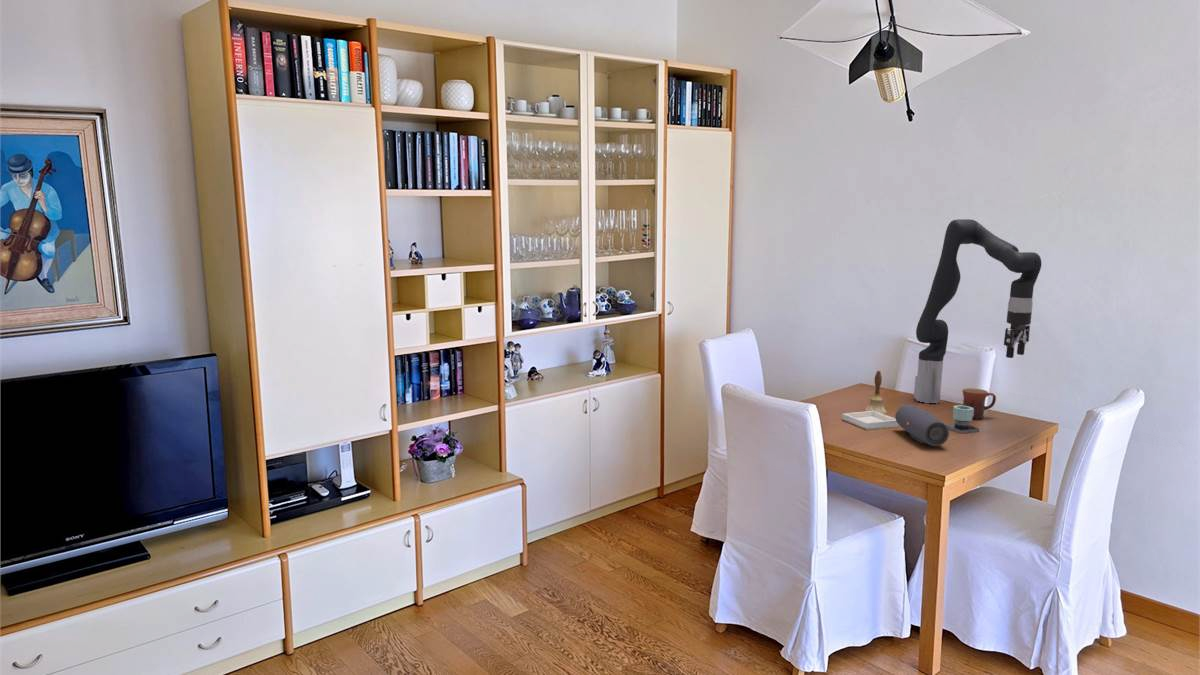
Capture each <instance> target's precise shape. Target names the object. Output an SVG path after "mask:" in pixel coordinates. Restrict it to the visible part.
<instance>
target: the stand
mask: <svg viewBox="0 0 1200 675" xmlns="http://www.w3.org/2000/svg"><path fill="white" fill-rule="evenodd" d="M960 409H966V408H960ZM970 423H971V421H960V420H956V419H954V423H951V424H950V423H947V424H945V425H946V426H947V428H948V430H949V431H953V432H956V433H958V434H968V433H970V434H971V433H978V432H980V428H978V427H975V426H972V425H970Z"/></svg>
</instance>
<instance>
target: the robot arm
mask: <svg viewBox="0 0 1200 675" xmlns="http://www.w3.org/2000/svg"><path fill="white" fill-rule="evenodd" d="M969 244H973V245H977V246H980V247H982V248H983V249H984V251H985V253H986V254H987V255H988V256H989V257H991V258H992V259H994V260H996V261H998V262H1000V263H1001V264H1002V265H1003V266H1005V268H1006V269H1007V270H1009V271H1010V272H1012V273H1015V274H1021V275H1020V277H1019V278H1017V279H1014V280H1013V281H1012V282H1011V284H1010V291H1009V300H1008V304H1007V315H1006V323H1007V324H1010V327H1009V328H1008V327H1007V328H1005V331H1004V339H1003V346H1006V352H1005V353H1006V354H1005V357H1006V358H1009V359H1013V358H1014V354H1015V346H1016V343H1017V348H1016V354H1017V355H1021V356H1024V354H1025V350H1026V349H1025V348H1026V345H1027V343H1028V342H1029V341H1030V329H1031V322H1032V316H1033V315H1032V314H1033V305H1034V304H1033V303H1034V302H1033V297H1034V296H1033V295H1034V286H1035V284H1036V282H1037V280H1038V276H1039V274H1040V272H1041V269H1042V259H1041V256H1040V255H1039V253H1037V252H1034V251H1033V252H1032V251H1030V252H1029V251H1027V252H1026V251H1025V252H1024V251H1023V252H1020V251H1019V248H1018V247H1017V246H1016V245H1015V244H1012V243H1011V242H1009V241H1007V240H1004V239H1003V238H1000V237H999V236H997V235H995V234H994V233H992V232H991V231H990V230H988V229H987V228H986V227H985V226H983V225H982V224H981V223H980V222H978V221H976V220H974V219H966V218H965V219H961V218H960V219H958V218H957V219H952V220H951V221H949V223H948V225H947V227H946V231H945V234H944V239H943V244H942V248H941V254H940V258H939V261H938V264H937V267H936V271H935V275H934V278H933V279H932V284H931V288H930V290H929V291H930V292H929V294H928V296H927V297H928V298H927V300H926V302H925V306H924V308H923V311H922V313H921V315H920V317H919V320H918V322H917V326H916V329H915V335H916V336H915V337H916V339H917V341H918V342H919V343H923V344H929V345H928V346H927V347H926V348H924V349H922V350H920V351H919V353H918V362H917V363H918V364H917V375H916V376H915V378H914V381H915V382H914V389H913V390H914V391H913V399H914V398H915V399H916V400H917V401H916V400H915V399H914V400H915V401H916V402H918V401H920V402H919V403H921V402H924V403H923V404H929V403H934V402H939V401H941V392H942V378H943V371H944V370H943V367H944V359H945V358H944V357H945V355H946V353H947V352H946V351H947V346H948V340H949V339H948V337H949V326H948V324H947V321H945V320H944V319H938V316H939V314H940V313H941V311H943V309H944V308H945V306H947V305H948V304H949V303H950V302H951V300H952V299H953V298H954V297H955V295H956V294H957V291H958V289H959V285H960V282H961V271H960V268H959V264H958V260H957V257H958V252H959V250H960V246H961V245H969ZM939 403H940V402H939Z"/></svg>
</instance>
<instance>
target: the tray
mask: <svg viewBox="0 0 1200 675" xmlns="http://www.w3.org/2000/svg"><path fill="white" fill-rule="evenodd" d="M841 416H842V417H841V418H842V419H841V420H842V421H843V422H846V423H849V424H850V425H853V426H856V427H858V428H861V429H864V430H866V431H870V430H881V429H890V428H896V427H897V428H899V427H900V425H899V424H898V423H897V421H896V419H895V417H892V416H890V415H887V414H881V413H879V412H876V411H865V410H864V411H857V412H856V411H855V412H845V413H842V415H841Z"/></svg>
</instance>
